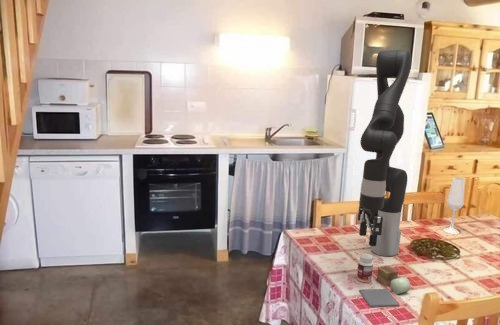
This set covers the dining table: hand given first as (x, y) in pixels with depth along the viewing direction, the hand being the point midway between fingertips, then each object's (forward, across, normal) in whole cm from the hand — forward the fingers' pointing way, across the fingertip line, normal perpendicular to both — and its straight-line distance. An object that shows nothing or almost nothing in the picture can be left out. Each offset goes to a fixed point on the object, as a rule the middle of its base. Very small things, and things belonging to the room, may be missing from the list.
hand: (367, 240), depth 137 cm
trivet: (+14, -12, 0) cm, 18 cm away
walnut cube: (+14, -2, -7) cm, 16 cm away
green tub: (+12, -9, -7) cm, 16 cm away
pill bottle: (+14, 0, 0) cm, 14 cm away
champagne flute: (+13, +42, -56) cm, 71 cm away
